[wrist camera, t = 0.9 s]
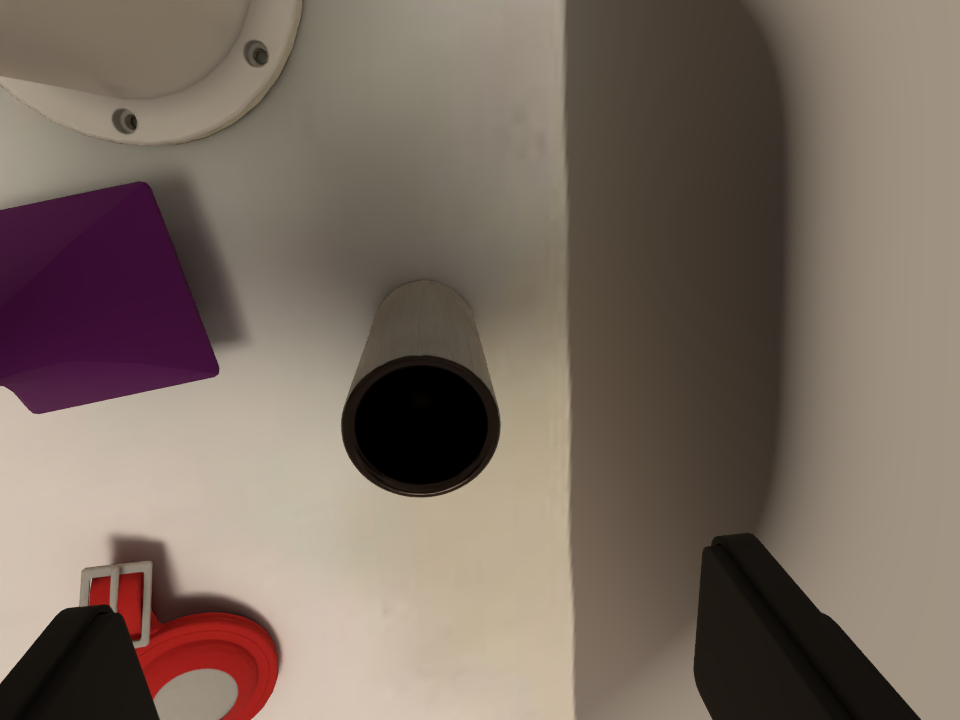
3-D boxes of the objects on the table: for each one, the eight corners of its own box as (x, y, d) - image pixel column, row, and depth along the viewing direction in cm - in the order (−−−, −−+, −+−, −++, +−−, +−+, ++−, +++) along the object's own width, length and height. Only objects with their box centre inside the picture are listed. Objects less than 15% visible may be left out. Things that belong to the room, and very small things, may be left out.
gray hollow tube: (360, 355, 26) (318, 472, 16) (394, 263, 25) (372, 331, 15) (452, 388, 27) (465, 518, 17) (490, 301, 26) (527, 388, 16)
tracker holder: (319, 664, 30) (189, 812, 30) (307, 607, 34) (192, 737, 34) (98, 571, 24) (-70, 756, 24) (114, 515, 28) (-31, 672, 27)
